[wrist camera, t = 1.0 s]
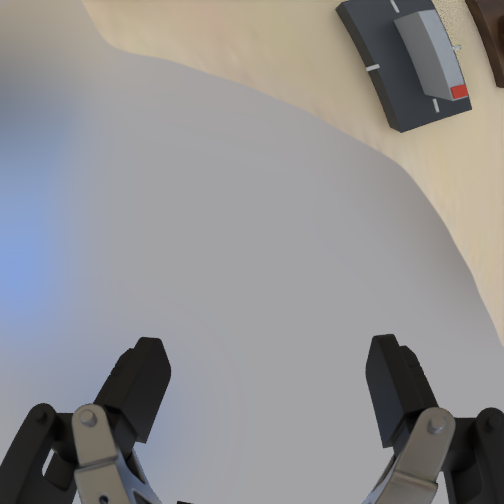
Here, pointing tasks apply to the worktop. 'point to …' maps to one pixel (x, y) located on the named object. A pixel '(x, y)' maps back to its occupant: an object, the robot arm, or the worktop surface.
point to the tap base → (395, 62)
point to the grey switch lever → (432, 55)
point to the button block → (491, 32)
